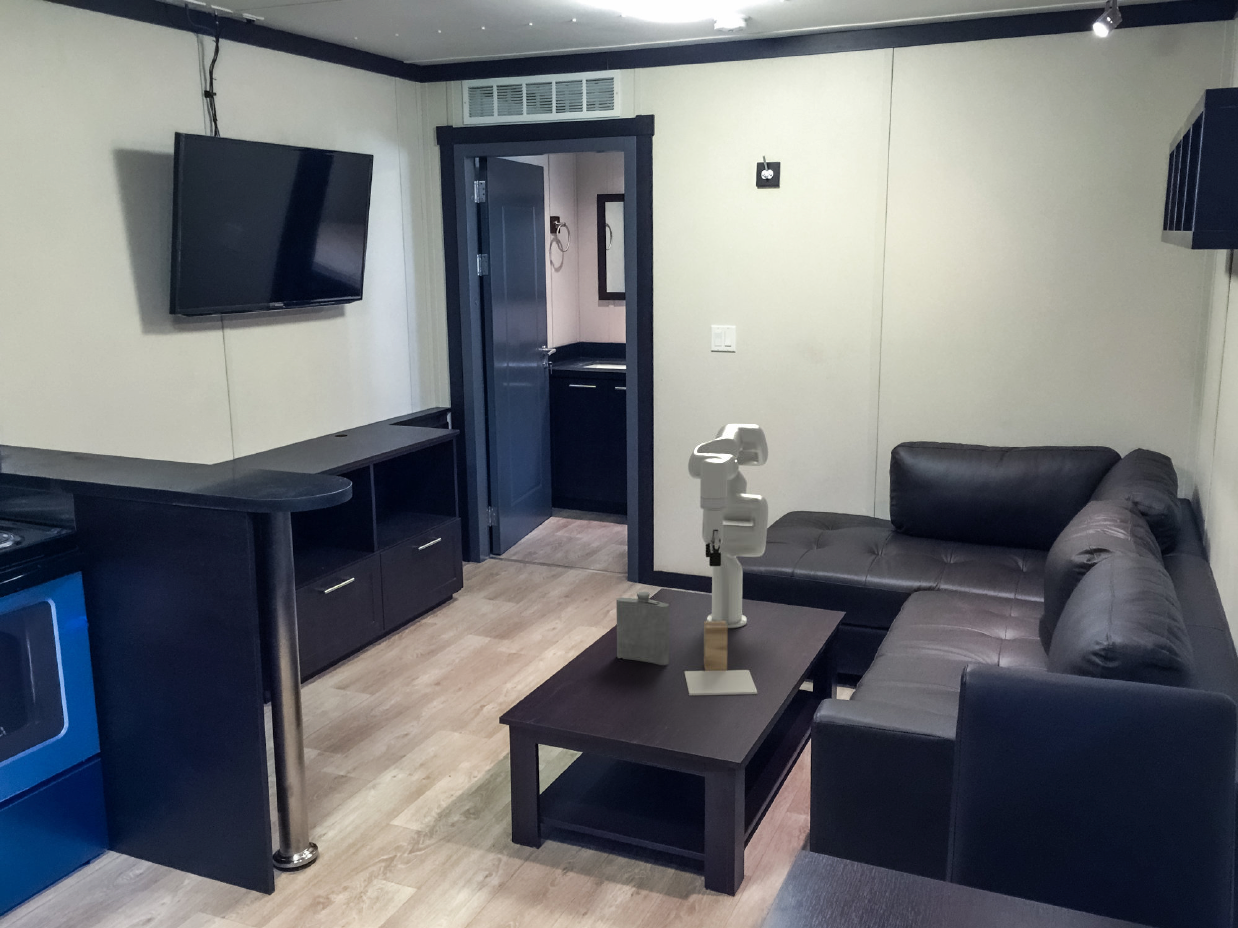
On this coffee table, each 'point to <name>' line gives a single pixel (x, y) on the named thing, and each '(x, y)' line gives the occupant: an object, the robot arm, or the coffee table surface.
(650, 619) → the hip flask
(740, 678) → the mat
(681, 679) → the coffee table surface
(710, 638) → the brown wooden block
